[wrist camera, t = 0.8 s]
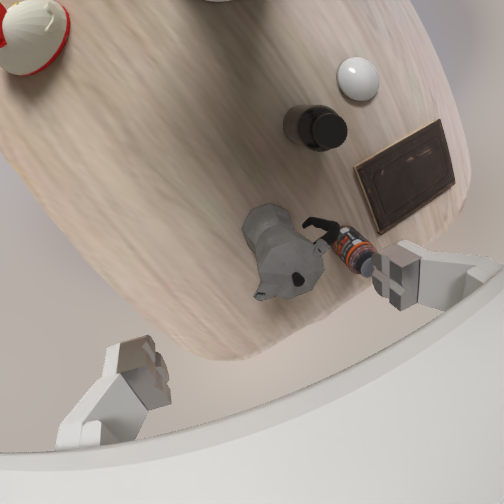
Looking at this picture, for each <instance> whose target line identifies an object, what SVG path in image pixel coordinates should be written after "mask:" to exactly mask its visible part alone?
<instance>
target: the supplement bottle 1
mask: <svg viewBox="0 0 504 504" xmlns="http://www.w3.org/2000/svg"><path fill="white" fill-rule="evenodd" d="M283 127H284V131H285V134H286V135H287V137H288V138H289V139H290V140H291V141H293V142H294V143H296V144H299V145H301V146H303V147H306V148H308V149H310V150H313V151H317V152H324V151H328V150H330V149H333V148H337V147H339V146H340V145H342V143H343V142H344V141H345V140H346V137H347V130H348V129H347V126H346V123H345V122H344V120H343V119H342V118H341V117H340V116H339V115H338V114H337V113H336V112H335V111H334V110H333V109H331V108H329V107H327V106H322V105H298V106H295V107H293V108H291V109H290V110H289V111H288V112H287V114H286V115H285V118H284V122H283Z"/></svg>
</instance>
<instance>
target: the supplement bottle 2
mask: <svg viewBox="0 0 504 504" xmlns="http://www.w3.org/2000/svg"><path fill="white" fill-rule="evenodd" d="M331 247H332V249H333V250H334V252H335V253H336V255H338V256H339V257H340V258H341V260H342V261H343V262H344V263H345V264H346V266H347V267H348V268H349V269H350V270H351V271H352V272H353V273H356V274H361V275H362V276H364V277H372V274H373V271H374V269H375V268H374V266H373V265H372V264H371V257H372V254H373V253H375V252H377V250H376V248H375V247H374V246H373V245H372V244H371V243H370V242H369V241H368V240H366V239H365V238H364V237H363V236H362V235H361V234H360V233H359V232H358V231H356V230H355V229H354V228H353V227H350V226H343V227H340V232H339V236H338V239H337V240H336V241H335V242H334V243H333V244H331Z"/></svg>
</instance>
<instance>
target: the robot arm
mask: <svg viewBox="0 0 504 504" xmlns="http://www.w3.org/2000/svg"><path fill="white" fill-rule="evenodd" d="M207 1H215V2H223V1H231V0H207ZM371 264H372V265H373V266H374V268H375V269H374V271H373V274H372V282H373V285H374V288H375V290H376V291H377V293H378V294H379V295H380V296H382V297H385V298H389V302H390V303H391V304H392V305H393V306H394V307H395V308H397V309H398V310H399V311H402V310H404V309H406V308H408V307H410V306H412V305H414V304H416V303H418V304H421V305H425V306H428V307H431V308H435V309H438V310H441V311H445V312H444V313H442V314H441V315H439V316H438V317H436V318H435V319H433V320H432V321H430V322H428V323H427V324H426V325H424V326H422V327H421V328H419V329H417V330H416V331H414V332H412V333H411V334H409V335H407V336H405V337H404V338H402V339H400V340H399V341H397V342H395V343H393V344H392V345H390V346H388V347H386V348H384V349H383V350H381V351H379V352H377V353H375V354H373V355H372V356H370V357H368V358H366V359H364V360H362V361H360V362H358V363H356V364H354V365H352V366H350V367H348V368H346V369H344V370H342V371H340V372H338V373H336V374H334V375H332V376H329V377H327V378H325V379H323V380H320V381H318V382H316V383H314V384H311V385H309V386H307V387H305V388H302V389H300V390H297V391H295V392H293V393H290V394H288V395H285V396H283V397H280V398H278V399H275V400H273V401H270V402H267V403H265V404H262V405H259V406H256V407H253V408H251V409H248V410H245V411H242V412H239V413H236V414H233V415H230V416H227V417H224V418H220V419H217V420H214V421H211V422H207V423H204V424H200V425H197V426H193V427H189V428H186V429H182V430H178V431H174V432H170V433H166V434H162V435H157V436H153V437H148V438H144V439H138V440H135V439H136V437H137V435H138V433H139V431H140V428H141V426H142V424H143V422H144V420H145V418H146V416H147V414H148V411H149V410H152V409H156V408H159V407H163V406H166V405H169V404H171V394H170V388H169V387H168V385H167V382H168V381H169V374H168V370H167V367H166V364H165V362H164V360H163V357H162V356H161V354H159V353H158V352H156V351H155V343H154V341H153V340H152V338H151V336H149V335H145V336H142V337H138V338H135V339H131V340H127V341H124V342H122V343H121V342H120V343H117V344H113V345H110V346H108V347H107V350H106V357H105V361H104V367H103V373H102V378H100V379H97V381H96V382H95V383H94V384H93V385H92V387H91V388H90V389H89V390H88V391H87V393H86V394H85V395H84V396H83V397H82V398H81V400H80V401H79V402H78V403H77V405H76V406H75V407H74V408H73V409H72V411H71V412H70V413H69V414H68V415H67V417H66V418H65V419H64V420H63V422H62V423H61V424H60V425H59V431H58V436H57V442H56V448H55V451H46V452H24V453H23V452H21V453H3V452H0V504H504V265H503V264H500V263H499V262H497V261H495V260H493V259H490V258H489V257H486V256H477V255H466V254H455V253H444V252H433V253H432V252H430V251H428V250H426V249H424V248H422V247H420V246H418V245H416V244H414V243H412V242H410V241H408V240H401V241H399V242H397V243H395V244H393V245H391V246H388V247H386V248H384V249H382V250H379V251H377V252H375V253H373V254H372V257H371Z"/></svg>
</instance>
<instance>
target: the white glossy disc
mask: <svg viewBox="0 0 504 504" xmlns="http://www.w3.org/2000/svg"><path fill="white" fill-rule="evenodd" d="M337 83H338V86H339V88H340V89H341V91H342V92H343V93H344V94H345V95H346V96H347V97H349V98H350V99H353V100H357V101H365V100H369V99H371V98H372V97H373V96H374V95H375V94H376V93H377V91H378V88H379V76H378V73H377V70H376V69H375V67H374V66H373V65H372V64H371V63H370V62H369V61H367V60H366V59H363V58H360V57H353V58H349V59H346V60H344V61H343V62H342V63H341V64H340V65H339V67H338V70H337Z"/></svg>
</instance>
